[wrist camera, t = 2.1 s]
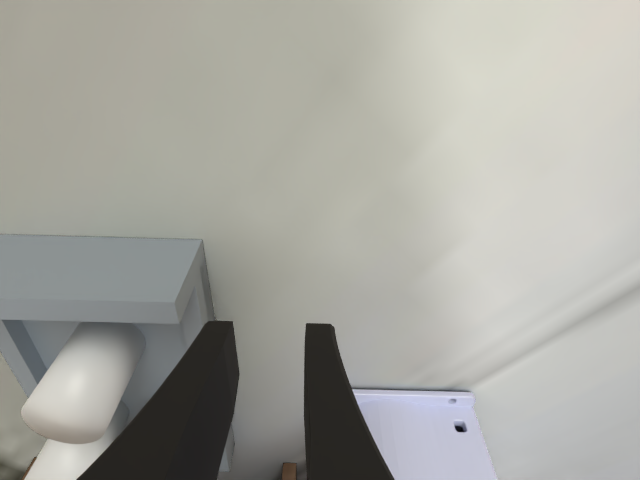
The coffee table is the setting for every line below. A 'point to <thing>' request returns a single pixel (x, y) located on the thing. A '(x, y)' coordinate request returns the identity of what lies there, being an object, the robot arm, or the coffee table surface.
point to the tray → (103, 298)
